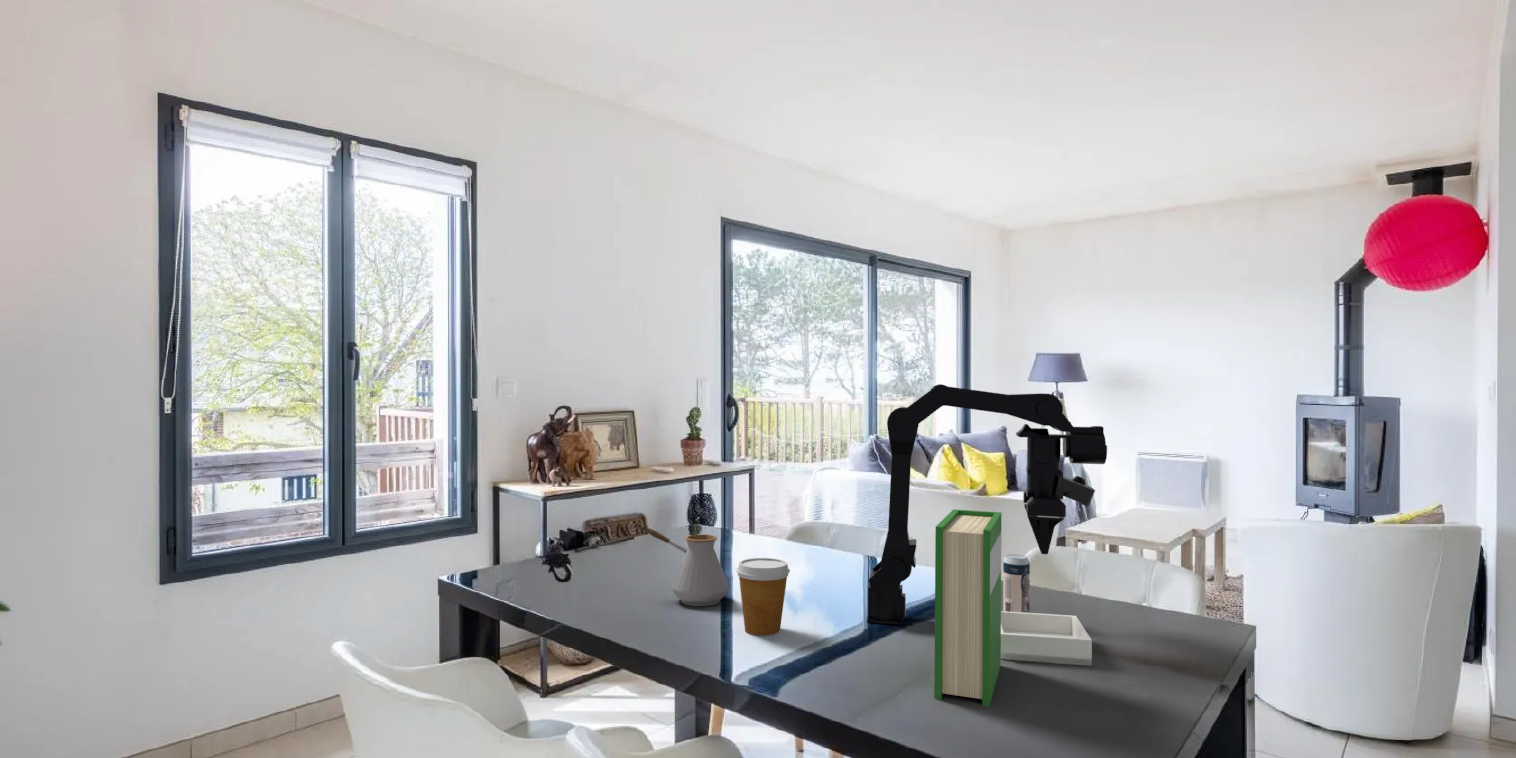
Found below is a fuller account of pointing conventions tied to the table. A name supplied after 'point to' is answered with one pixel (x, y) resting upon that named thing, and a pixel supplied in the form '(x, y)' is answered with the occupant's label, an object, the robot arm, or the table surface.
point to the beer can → (1016, 583)
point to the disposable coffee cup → (762, 593)
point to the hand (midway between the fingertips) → (1042, 549)
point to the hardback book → (968, 604)
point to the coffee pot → (696, 570)
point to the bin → (1044, 638)
